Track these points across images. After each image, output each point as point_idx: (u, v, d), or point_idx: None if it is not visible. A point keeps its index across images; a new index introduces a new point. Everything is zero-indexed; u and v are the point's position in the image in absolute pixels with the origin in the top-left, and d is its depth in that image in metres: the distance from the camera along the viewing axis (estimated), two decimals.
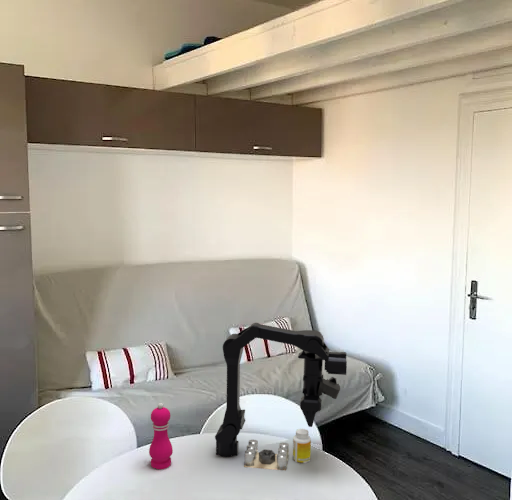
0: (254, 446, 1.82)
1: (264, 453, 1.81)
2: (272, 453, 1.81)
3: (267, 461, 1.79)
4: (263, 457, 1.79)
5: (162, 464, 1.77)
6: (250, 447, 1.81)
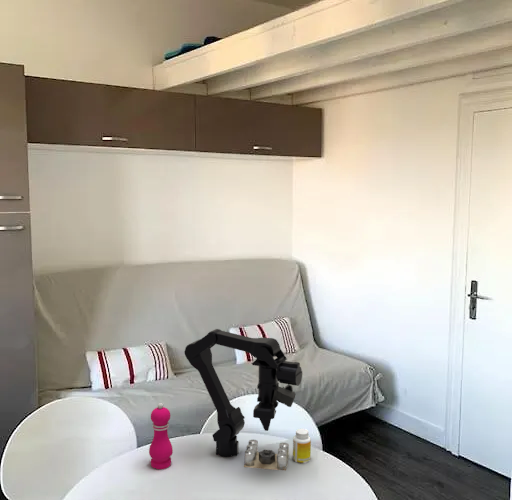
0: (254, 446, 1.82)
1: (264, 453, 1.81)
2: (272, 453, 1.81)
3: (267, 461, 1.79)
4: (263, 457, 1.79)
5: (162, 464, 1.77)
6: (250, 447, 1.81)
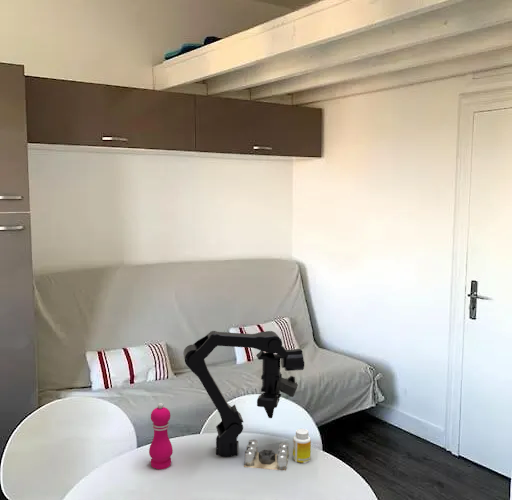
0: (254, 446, 1.82)
1: (264, 453, 1.81)
2: (272, 453, 1.81)
3: (267, 461, 1.79)
4: (263, 457, 1.79)
5: (162, 464, 1.77)
6: (250, 447, 1.81)
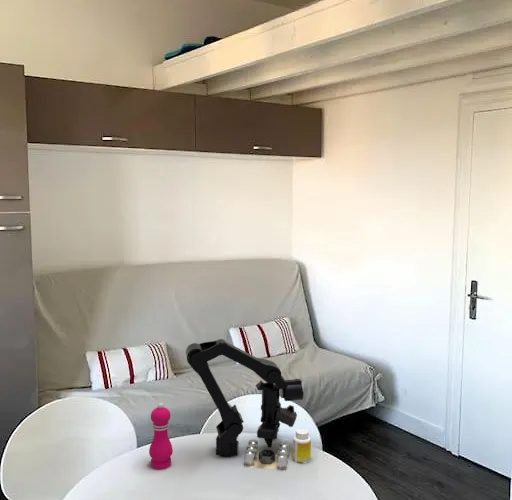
0: (254, 446, 1.82)
1: (264, 453, 1.81)
2: (272, 453, 1.81)
3: (267, 461, 1.79)
4: (263, 457, 1.79)
5: (162, 464, 1.77)
6: (250, 447, 1.81)
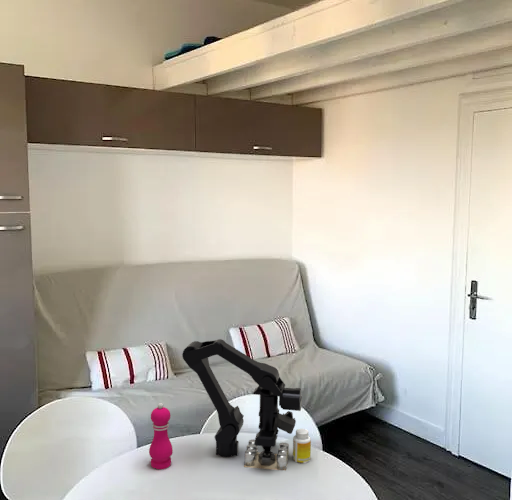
0: (254, 446, 1.82)
1: (264, 454, 1.80)
2: (272, 454, 1.80)
3: (267, 462, 1.78)
4: (263, 458, 1.78)
5: (162, 464, 1.77)
6: (250, 447, 1.81)
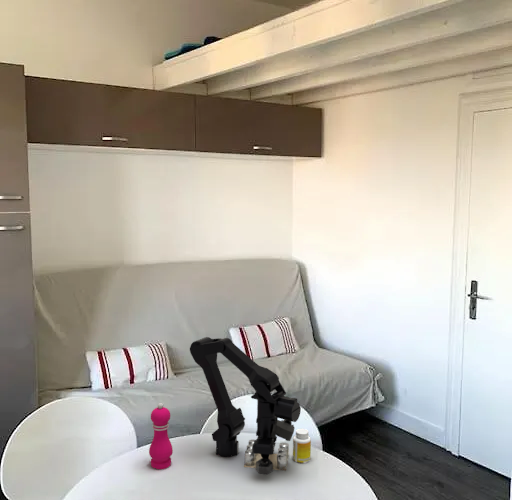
0: None
1: (262, 462, 1.75)
2: (270, 463, 1.75)
3: (264, 471, 1.73)
4: (260, 467, 1.73)
5: (162, 464, 1.77)
6: (250, 447, 1.81)
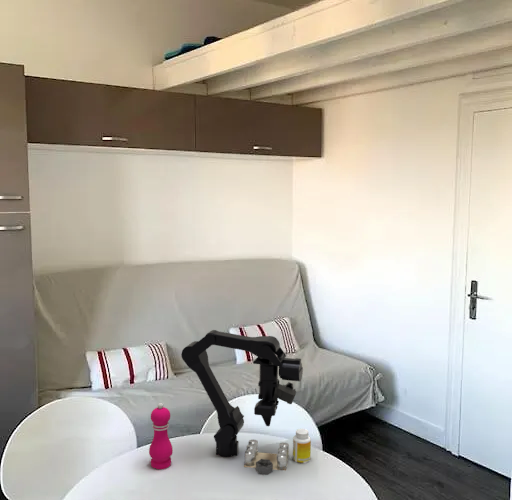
0: (254, 446, 1.82)
1: (262, 463, 1.75)
2: (269, 463, 1.74)
3: (264, 472, 1.73)
4: (260, 468, 1.73)
5: (162, 464, 1.77)
6: (250, 447, 1.81)
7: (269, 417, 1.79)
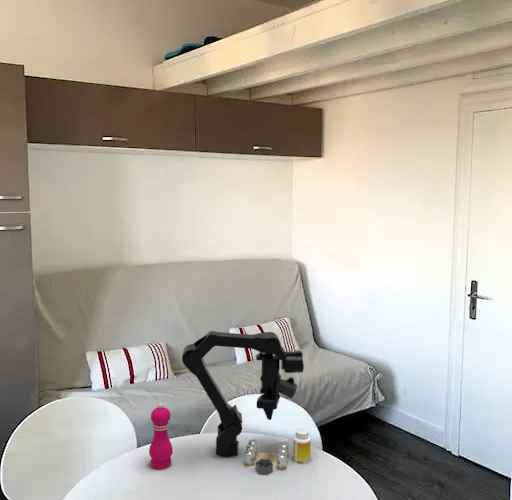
0: (254, 446, 1.82)
1: (262, 463, 1.75)
2: (269, 463, 1.74)
3: (264, 472, 1.73)
4: (260, 468, 1.73)
5: (162, 464, 1.77)
6: (250, 447, 1.81)
7: (271, 411, 1.84)
